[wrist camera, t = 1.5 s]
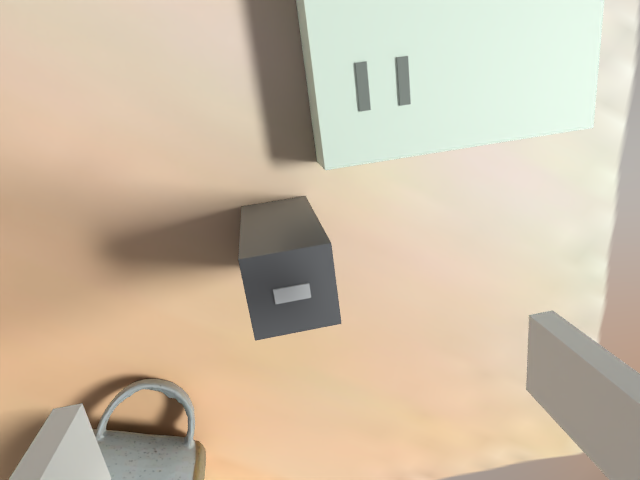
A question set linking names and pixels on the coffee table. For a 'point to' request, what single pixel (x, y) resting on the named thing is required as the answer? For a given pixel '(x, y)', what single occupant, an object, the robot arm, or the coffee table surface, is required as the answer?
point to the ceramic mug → (151, 443)
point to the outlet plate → (445, 73)
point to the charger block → (287, 268)
